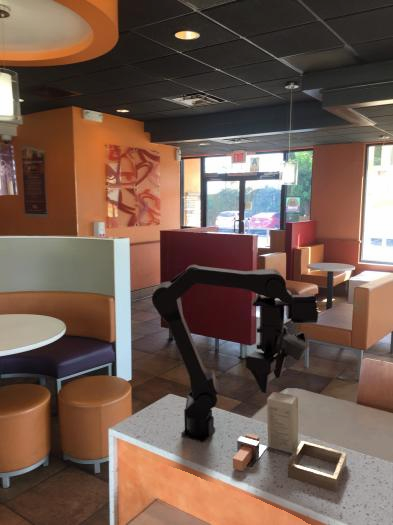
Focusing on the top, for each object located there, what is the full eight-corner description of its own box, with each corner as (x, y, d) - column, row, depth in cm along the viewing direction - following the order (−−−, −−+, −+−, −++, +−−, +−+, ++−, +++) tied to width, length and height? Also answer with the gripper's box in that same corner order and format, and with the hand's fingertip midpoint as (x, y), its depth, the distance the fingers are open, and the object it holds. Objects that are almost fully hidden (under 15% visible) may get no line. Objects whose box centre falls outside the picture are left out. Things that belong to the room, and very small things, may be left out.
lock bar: (231, 467, 97) (231, 452, 96) (247, 447, 104) (247, 432, 103) (243, 471, 95) (243, 456, 94) (259, 450, 102) (259, 436, 102)
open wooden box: (287, 477, 94) (287, 464, 93) (301, 452, 102) (301, 440, 102) (335, 492, 89) (336, 479, 88) (346, 465, 97) (346, 452, 97)
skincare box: (298, 444, 105) (299, 396, 103) (292, 454, 101) (293, 404, 99) (272, 437, 108) (273, 390, 106) (266, 446, 104) (266, 397, 102)
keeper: (232, 462, 99) (232, 445, 99) (248, 442, 107) (249, 426, 106) (252, 468, 97) (252, 451, 96) (267, 447, 105) (267, 431, 104)
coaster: (267, 450, 104) (267, 448, 103) (275, 438, 108) (275, 436, 108) (290, 456, 101) (290, 455, 101) (297, 444, 106) (297, 442, 105)
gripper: (292, 340, 93) (291, 409, 96) (316, 317, 109) (314, 376, 112) (243, 332, 99) (243, 398, 101) (273, 311, 115) (272, 368, 117)
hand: (271, 384), depth 108 cm, fingers open, 9 cm apart
